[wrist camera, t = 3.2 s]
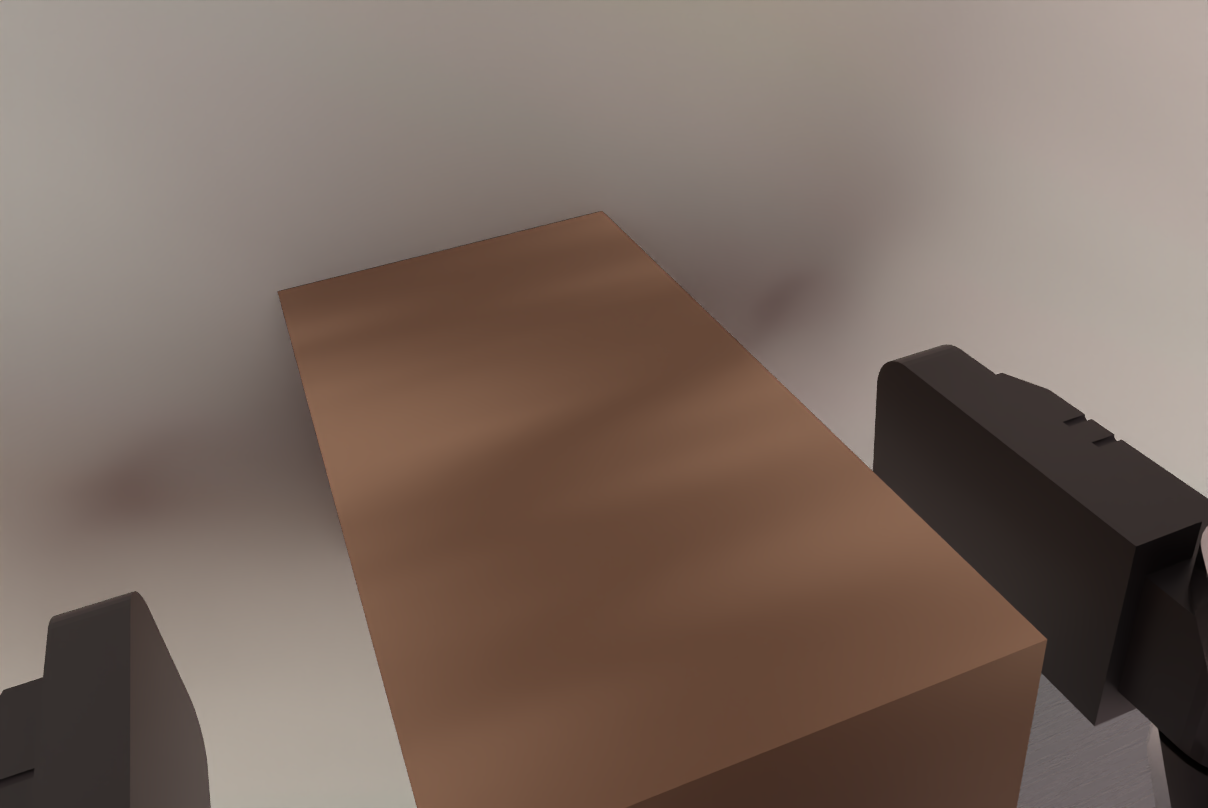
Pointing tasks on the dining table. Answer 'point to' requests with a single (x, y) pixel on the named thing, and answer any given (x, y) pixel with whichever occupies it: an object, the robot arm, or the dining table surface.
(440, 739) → the walnut peg
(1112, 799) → the grey socket board
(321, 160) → the dining table surface
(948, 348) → the robot arm
